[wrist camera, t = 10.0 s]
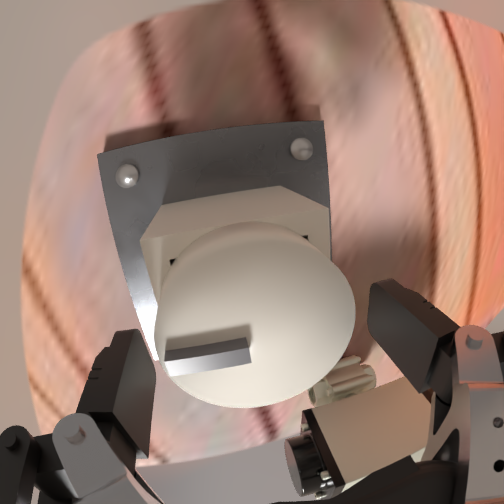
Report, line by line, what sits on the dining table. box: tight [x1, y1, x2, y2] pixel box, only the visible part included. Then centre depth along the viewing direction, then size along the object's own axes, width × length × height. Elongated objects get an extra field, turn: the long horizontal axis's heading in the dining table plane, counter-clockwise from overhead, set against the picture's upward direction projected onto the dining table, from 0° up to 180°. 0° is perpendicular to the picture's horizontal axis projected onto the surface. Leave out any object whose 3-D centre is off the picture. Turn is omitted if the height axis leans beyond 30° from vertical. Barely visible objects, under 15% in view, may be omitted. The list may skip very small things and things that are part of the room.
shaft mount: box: [97, 121, 332, 360], centre depth 14 cm, size 12×13×6 cm
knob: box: [140, 186, 355, 408], centre depth 12 cm, size 6×6×8 cm
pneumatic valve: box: [284, 355, 434, 500], centre depth 17 cm, size 6×12×12 cm, turn 95°
